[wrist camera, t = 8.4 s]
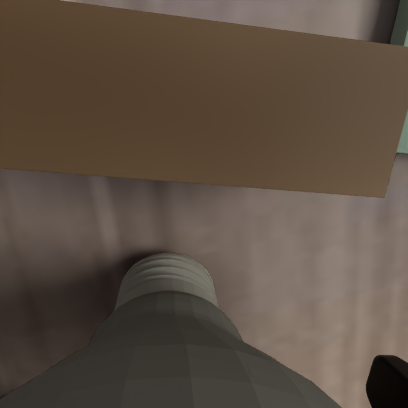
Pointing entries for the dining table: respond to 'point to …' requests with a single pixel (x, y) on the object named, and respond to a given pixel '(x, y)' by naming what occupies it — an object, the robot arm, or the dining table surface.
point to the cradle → (196, 100)
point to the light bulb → (168, 353)
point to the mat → (404, 36)
